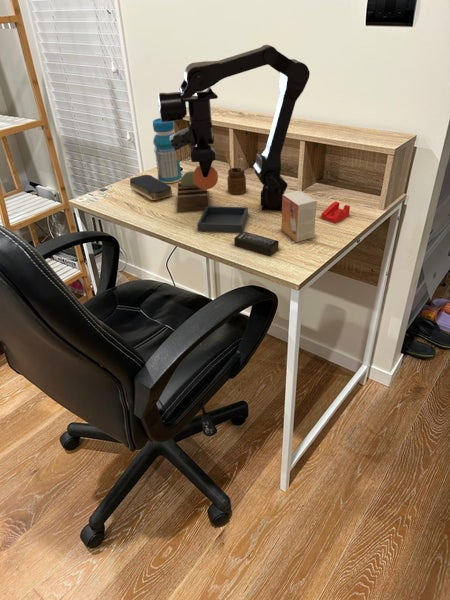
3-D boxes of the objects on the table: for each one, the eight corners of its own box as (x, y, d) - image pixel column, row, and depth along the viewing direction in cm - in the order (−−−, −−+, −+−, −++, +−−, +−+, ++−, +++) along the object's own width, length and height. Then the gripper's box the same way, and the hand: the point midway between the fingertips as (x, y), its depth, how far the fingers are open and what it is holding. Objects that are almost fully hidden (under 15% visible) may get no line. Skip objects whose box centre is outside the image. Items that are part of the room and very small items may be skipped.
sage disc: (203, 191, 143) (202, 169, 139) (204, 192, 142) (202, 171, 138) (181, 193, 143) (179, 171, 139) (181, 194, 142) (179, 172, 138)
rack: (208, 194, 146) (207, 180, 144) (210, 210, 136) (209, 195, 133) (178, 196, 146) (176, 182, 143) (177, 212, 136) (175, 198, 133)
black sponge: (128, 189, 153) (126, 179, 151) (150, 182, 157) (148, 172, 155) (153, 204, 142) (151, 193, 140) (175, 196, 146) (174, 185, 144)
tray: (248, 214, 132) (247, 207, 131) (242, 233, 123) (242, 225, 122) (206, 213, 134) (206, 206, 133) (198, 231, 125) (197, 223, 124)
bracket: (334, 211, 131) (335, 201, 130) (348, 215, 128) (350, 206, 127) (320, 218, 128) (321, 208, 126) (335, 223, 125) (336, 213, 123)
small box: (280, 230, 123) (281, 193, 117) (298, 225, 125) (300, 189, 119) (296, 242, 117) (297, 205, 111) (314, 237, 119) (317, 200, 113)
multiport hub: (270, 256, 112) (270, 248, 111) (233, 245, 118) (233, 237, 116) (279, 249, 115) (279, 240, 114) (243, 238, 121) (243, 230, 119)
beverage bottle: (167, 186, 154) (159, 125, 142) (153, 180, 159) (144, 120, 147) (187, 179, 158) (180, 119, 146) (172, 173, 163) (165, 115, 152)
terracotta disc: (218, 187, 129) (216, 162, 125) (218, 188, 128) (217, 164, 124) (194, 188, 129) (191, 164, 125) (194, 190, 128) (191, 166, 124)
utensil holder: (240, 196, 144) (239, 158, 137) (223, 192, 146) (221, 155, 139) (249, 189, 148) (248, 152, 140) (232, 186, 150) (231, 150, 143)
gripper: (171, 111, 125) (178, 166, 134) (167, 130, 110) (175, 191, 119) (211, 108, 125) (215, 163, 134) (213, 126, 110) (217, 188, 119)
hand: (205, 176), depth 127 cm, fingers closed on terracotta disc, 1 cm apart
